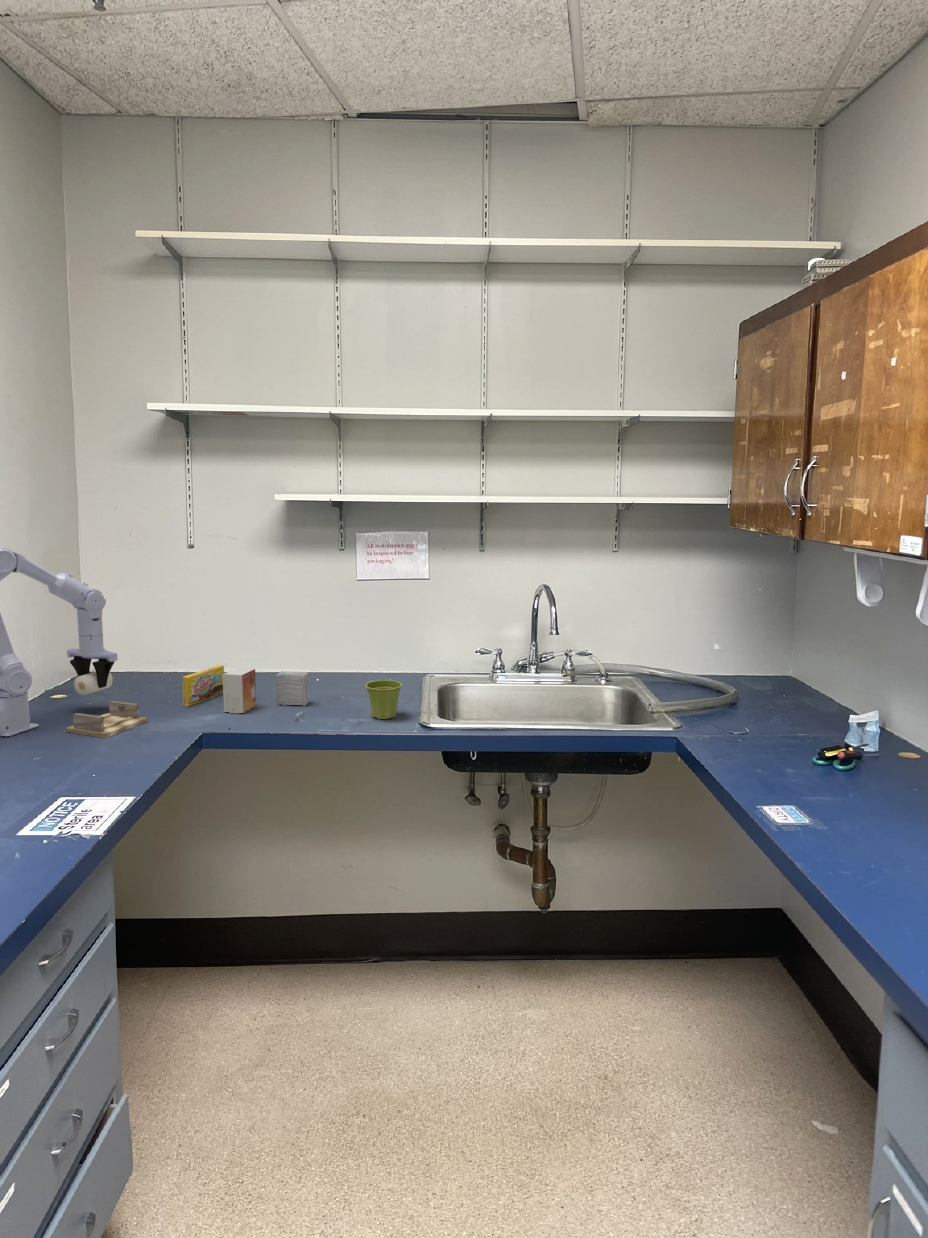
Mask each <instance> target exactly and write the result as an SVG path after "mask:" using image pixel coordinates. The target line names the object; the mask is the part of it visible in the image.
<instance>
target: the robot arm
mask: <svg viewBox="0 0 928 1238" xmlns="http://www.w3.org/2000/svg"><path fill="white" fill-rule="evenodd" d="M12 573H17V574H18V573H21V574H22V575H23V576H27V577H29V578H30V579H32V580H35V581H37V582H39V583H41V584H44V585H46V586H47V588H48V592H49V593H50V594H51V595H53V596H56V597H58V598H59V599H62V600H63V601H66V602H68V603H70V604H71V605H72V606H73V607H74V608H75V609H76V613H77V614H76V615H77V633H78V634H77V635H78V648H70V649H69V648H68V649H67V650H66V657H67V658H73V659H71V660H69V663H70V665H71V666H72V667H73V669H74V670H75V673H76V675H77V677H78V676H82V675H85V674H89V673H91V672H90V671H91V663H92V667H93V668H94V670H95V671H94V672H96V675H97V684H98V688H103V687H106V685H107V680H108V676H109V673H110V674H111V669H112V668H113V666H114V664H115V662H116V661H118V653H117V652H113V651H109V650H106V648H105V647H104V631H103V609H104V608H105V606H106V604H107V603H106V602H107V599H105V598H104V595H103V592H101V591H100V590H98V589H95V588H94V589H93V588H90V587H89V584H88V583H86V582H81V581H79V580H77V579H75V578H74V575H73V574H71V573H70V572H69V573H68V572H66V573H63V572H60V573H56V574H55V573H54V572H51V571H50V570H48V569H47V568H45V567H43V566H42V565H40V564H39V563H36V562H35V561H33V560H32V559H30V558H28V557H27V556H25V555H22V554H21V553H19V552H15V551H12V550H11V549H10V548H6V547H0V582H1V581H2V580H3V579H6V577H8V576H9V575H10V574H12ZM9 637H10V636H9V634H8V631H7V629H6V626H5V623H4V619H3V617H2V614H1V613H0V737H2V736H6V737H5V738H8V737H7V736H9V737H11V736H14V735H17V734H20V732H21V733H23V732H26V731H29V730H32V729H34V728H37V727H40V726H39V724H38V723H31V719H30V707H29V694H28V691H29V690H30V688H31V686H32V684H33V678H32V674H31V673H30V672H29V671H28V670H27V669H26V667H24V665H23V662H22V660H21V659H20V658H19V657H18V656H17V655H16V653H15V651H14V647H13V645H12V643H11V641H10V638H9ZM92 660H96V661H93V662H92Z"/></svg>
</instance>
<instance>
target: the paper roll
mask: <svg viewBox="0 0 928 1238" xmlns="http://www.w3.org/2000/svg"><path fill="white" fill-rule="evenodd" d="M113 681H114V680H113V675H112V673H111V672H110V673H109V676H108V680H107V685H106V687H103V688H98V684H97V675H96V671H93V672H90V673H89V674H85V675H82V676H78V675H77V677H75V679H74V682H73V686H74V690H75V691H76V693H78V695H80V696H87V695H89V694H93V693H96V692H99V691H102V690H105V689H108V688H110V687H111V686H112V684H113Z"/></svg>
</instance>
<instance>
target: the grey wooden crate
mask: <svg viewBox="0 0 928 1238" xmlns="http://www.w3.org/2000/svg"><path fill="white" fill-rule="evenodd" d="M309 680H310V679H309V672H308V671H291V670H289V671H284V670H283V671H282V670H281V671H280V672H278V673H277V674H276V675H275V681H276V682H275V684H276V685H275V686H276V705H277V704H285V705H284V706H287V705H306V706H307V705H308V703H310V681H309Z"/></svg>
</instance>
